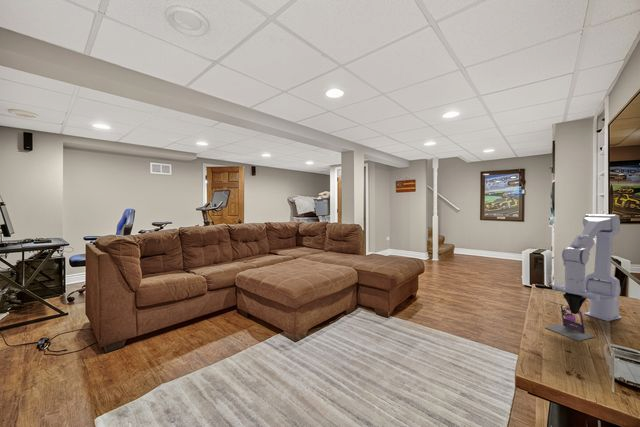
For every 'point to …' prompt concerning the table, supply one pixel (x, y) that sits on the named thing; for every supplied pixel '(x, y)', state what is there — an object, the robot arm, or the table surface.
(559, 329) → the mat
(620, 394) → the table surface
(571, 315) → the purple monster photo frame
